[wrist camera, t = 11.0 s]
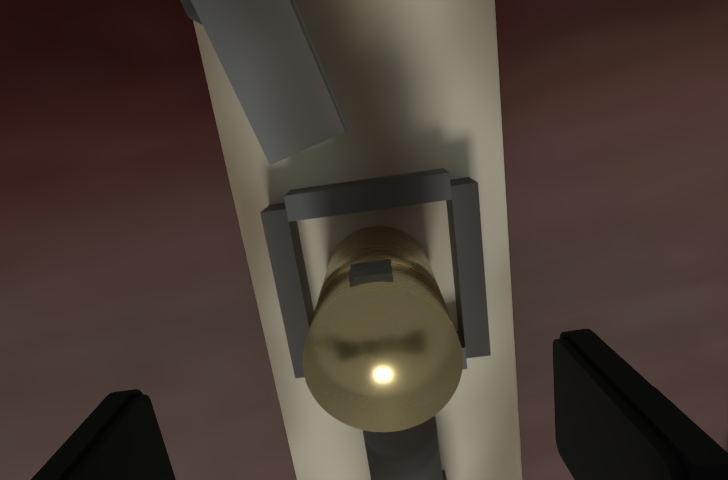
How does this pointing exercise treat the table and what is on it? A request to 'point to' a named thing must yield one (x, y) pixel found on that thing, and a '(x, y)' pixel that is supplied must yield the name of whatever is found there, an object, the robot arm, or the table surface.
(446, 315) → the yellow round-topped cylinder
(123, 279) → the table surface
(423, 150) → the stand
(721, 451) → the robot arm
